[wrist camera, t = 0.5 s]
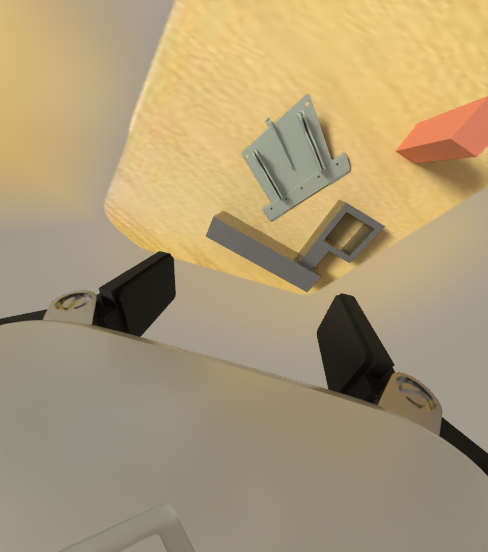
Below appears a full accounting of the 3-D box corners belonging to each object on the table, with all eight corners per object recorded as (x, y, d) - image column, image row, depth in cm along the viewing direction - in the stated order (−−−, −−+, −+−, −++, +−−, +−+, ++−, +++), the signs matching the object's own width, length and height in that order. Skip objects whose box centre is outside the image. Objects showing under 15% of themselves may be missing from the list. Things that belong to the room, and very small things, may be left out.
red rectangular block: (417, 123, 25) (490, 95, 16) (437, 136, 25) (518, 116, 16) (395, 150, 26) (450, 138, 18) (414, 163, 27) (476, 156, 18)
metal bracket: (226, 159, 26) (326, 67, 20) (229, 153, 31) (312, 75, 24) (274, 230, 34) (357, 179, 28) (271, 217, 38) (342, 170, 32)
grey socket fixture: (250, 145, 29) (243, 139, 24) (373, 221, 31) (391, 229, 26) (216, 228, 38) (205, 236, 32) (316, 284, 39) (321, 300, 34)
